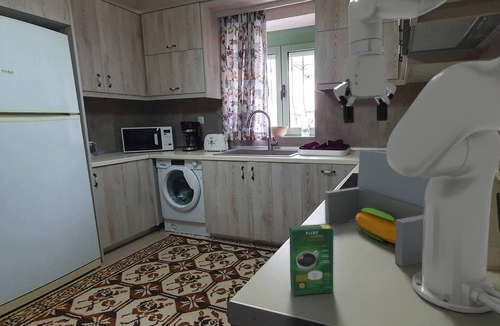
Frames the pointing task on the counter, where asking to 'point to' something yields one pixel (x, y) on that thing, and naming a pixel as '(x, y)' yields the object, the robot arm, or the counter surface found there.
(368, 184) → the cover
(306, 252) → the coffee box
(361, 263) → the counter surface
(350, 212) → the grey bridge shelf
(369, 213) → the corn
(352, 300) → the counter surface
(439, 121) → the robot arm
